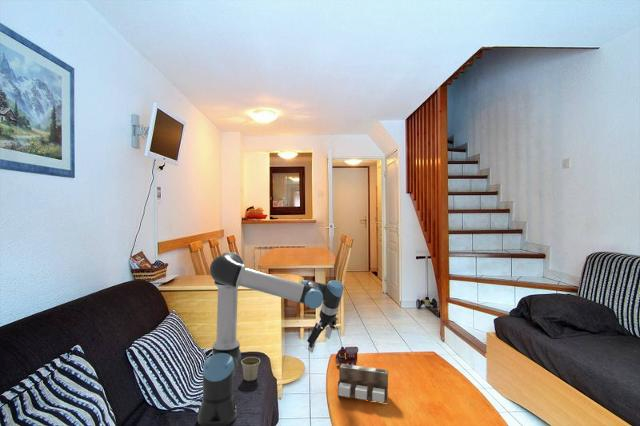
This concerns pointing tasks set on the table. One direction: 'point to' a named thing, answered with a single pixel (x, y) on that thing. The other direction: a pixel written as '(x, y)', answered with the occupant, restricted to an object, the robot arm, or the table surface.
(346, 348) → the red wheeled toy
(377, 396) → the right button
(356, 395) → the middle button
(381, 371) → the console
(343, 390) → the left button
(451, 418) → the table surface
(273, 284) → the robot arm
